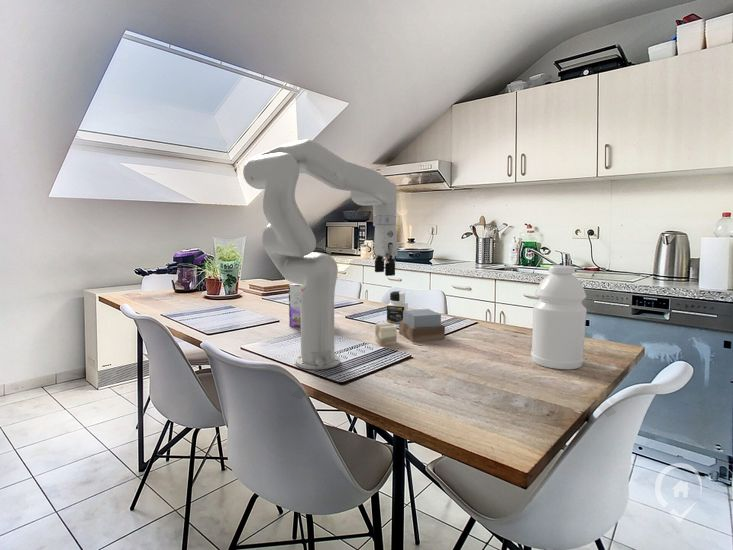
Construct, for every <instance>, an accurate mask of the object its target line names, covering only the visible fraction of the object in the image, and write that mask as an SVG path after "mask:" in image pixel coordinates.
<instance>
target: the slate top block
mask: <svg viewBox="0 0 733 550" xmlns="http://www.w3.org/2000/svg"><path fill="white" fill-rule="evenodd" d="M403 322H405V323H407V324H408V325H410V326H412V327H413V328H418V327H432V326H441V325H442V314H441V313H439V312H437V311H434V310H432V309H429V308H426V309H425V308H424V309H408V310H403Z"/></svg>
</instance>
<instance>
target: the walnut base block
mask: <svg viewBox="0 0 733 550" xmlns="http://www.w3.org/2000/svg"><path fill="white" fill-rule="evenodd" d="M398 326H399V327H398V333H399V335H400V336H403V337H404V338H405V339H407V340H408V341H410V342H411V343H417V342H419V343H420V342H431V341H442V340H443V341H444V340H445V337H446V326H444V325H442V324H441V326H432V327H418V328H413V327H412V326H410V325H408V324H407V323H405V322H403V321H399V323H398Z"/></svg>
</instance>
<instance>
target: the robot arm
mask: <svg viewBox="0 0 733 550" xmlns="http://www.w3.org/2000/svg"><path fill="white" fill-rule="evenodd" d="M242 172H243V173H242V174H243V179H244V181H245V182H246V184H248V186H250V187H252V188H254V189H257V190H264V192H263V199H262V210H263V214H264V217H265V219H266V220H267V222H268V224H267V225H266V226H265V228H264V229H263V231H262V238H261V239H262V241H261V242H262V245H263V248H264V250H265V252H266V254H267V255H268V257H269V258H270V260H271V261H272V263H273V264H274V265H275V267H276V268H277V270H278V271H279V273H280V274H281V275H282V277H283V278H284V279H285V280H286V281H288V282H290V284H292V283H295V284H301V285H306V286H305V289H304V292H303V294H302V297H301V301H300V314H301V327H300V355H299V356H297V357H296V359H295V365H296V366H298V368H301V369H306V370H311V371H312V370H315V371H317V370H320V371H321V370H327V369H331V368H334V367H335V368H336V367H337V366H338V365H339V364H340V363H341V358H340V357H339V356H338V355H337V354H336V353H335V350H336V349H335V346H336V345H335V295H336V294H335V292H336V284H337V279H338V275H339V274H338V273H339V271H338V270H339V268H338V264H337V261H336V260H335V259H334V257H333V256H331V255H329V254H328V253H324V252H315V250H316V247H317V239H316V237H315V234H314V232H313V229H311V226H309V225H310V224H308V221H306V218H305V217H304V215H303V213H302V211H301V210H300V208H299V206H298V203H297V201H296V187H297V183H298V180H299V176H300V174H306V175H309V176H310V177H312V178H314V179H316V180H317V181H319V182H321V183H323V184H325V185H327V186H328V187H329V188H332V189H335V190H339V191H347V192H348V191H349V192H350V193H349V194H350V198H351V201H353V202H354V204H357V205H359V206H364V207H365V206H372V208H373V209H372V211H373V212H372V213H373V215H372V219H373V220H372V225H373V227H374V237H373V238H374V239H373V248H374V249H373V250H374V273H384V276H386V277H391V276H392V277H393V276H395V275H396V258H397V256H398V235H397V234H398V233H397V197H398V196H397V194H398V193H397V185H396V184H395V183H394V182H391V181H390V179H388V178H387V177H386V176H384V175H383V174H381V173H380V172H378V171H376V170H374V169H371V168H369V167H366V166H362V165H360V164H356V163H353V162H349V161H348V160H347V161H346V160H345V159H343V158H342V157H340V156H338V155H337V154H335V153H334V152H332V151H331V150H329V149H328V148H326V147H325V146H323V145H322V144H320V143H319V142H317V141H314V140H312V139H311V140H310V139H302V140H296V141H293V142H288V143H284V144H282V145H279V146H277V147H274V148H272V149H270V150H269V149H268V150H266V151H265V152H262V153H259V154H257V155H254V156H252V157H250V158H249V159H248V160H247V161H246V162H245V164H244V166H243V169H242ZM384 259H385V260H384ZM385 262H386V263H385Z"/></svg>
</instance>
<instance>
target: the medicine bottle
mask: <svg viewBox="0 0 733 550" xmlns="http://www.w3.org/2000/svg"><path fill="white" fill-rule="evenodd" d="M408 305H409V303H408V302H406V293H405V292H404V291H391V292H390V293H389V303H388V304H387V305H386V322H387V323H391V324H392V323H395V324H399V321H403V310H409V309H408Z"/></svg>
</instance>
